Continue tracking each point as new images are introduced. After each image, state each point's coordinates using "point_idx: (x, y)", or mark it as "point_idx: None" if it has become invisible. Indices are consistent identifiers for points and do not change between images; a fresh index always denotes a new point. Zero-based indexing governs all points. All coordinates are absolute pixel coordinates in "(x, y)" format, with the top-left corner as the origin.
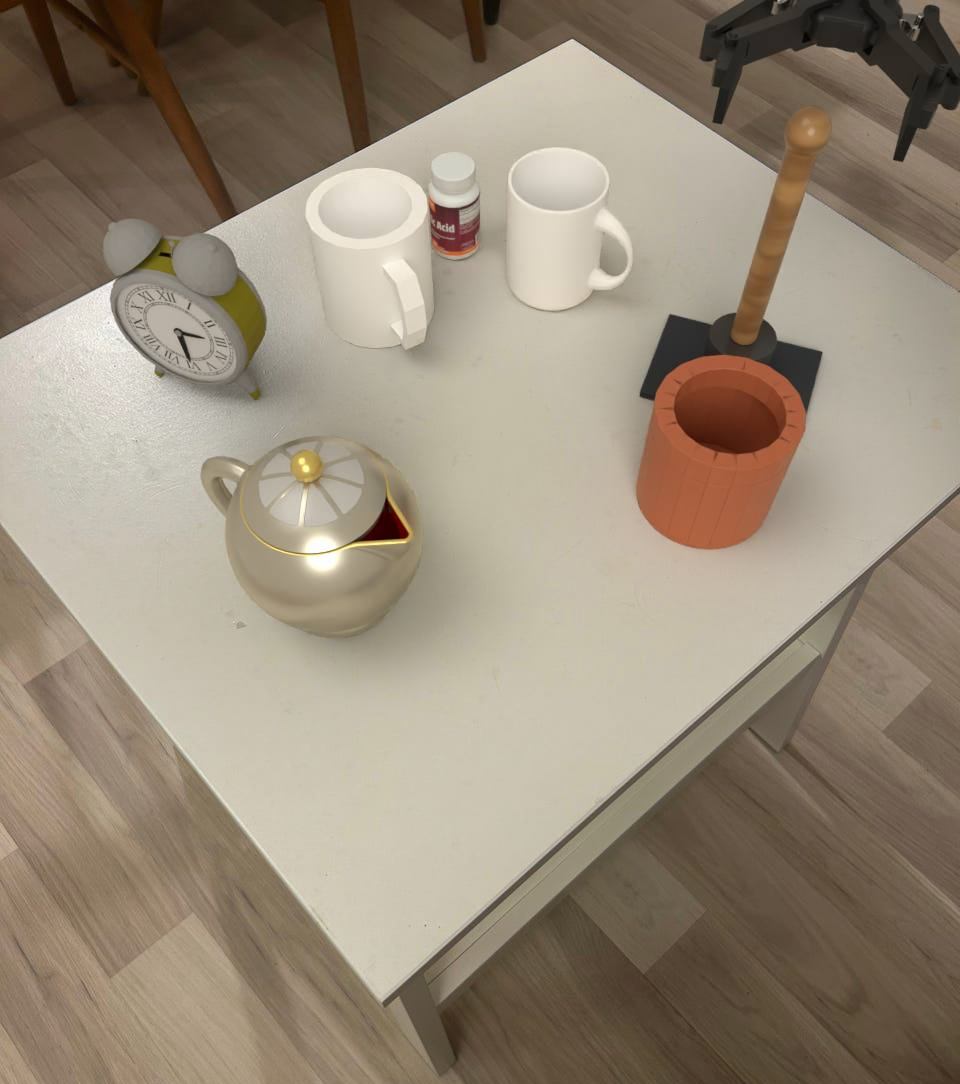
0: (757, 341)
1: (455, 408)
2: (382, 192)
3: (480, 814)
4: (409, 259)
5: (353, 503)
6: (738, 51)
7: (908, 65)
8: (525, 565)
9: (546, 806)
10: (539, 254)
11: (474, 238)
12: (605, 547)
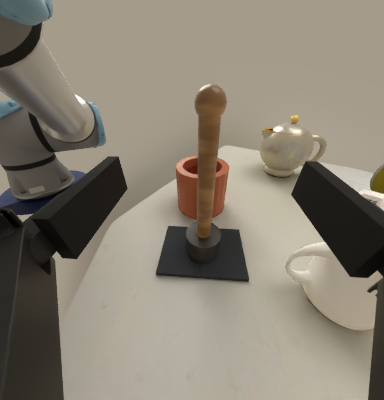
0: (195, 231)
1: (299, 213)
2: None
3: (223, 155)
4: (381, 203)
5: (279, 125)
6: (371, 209)
7: (31, 286)
8: (241, 181)
9: None
10: None
11: None
12: None
